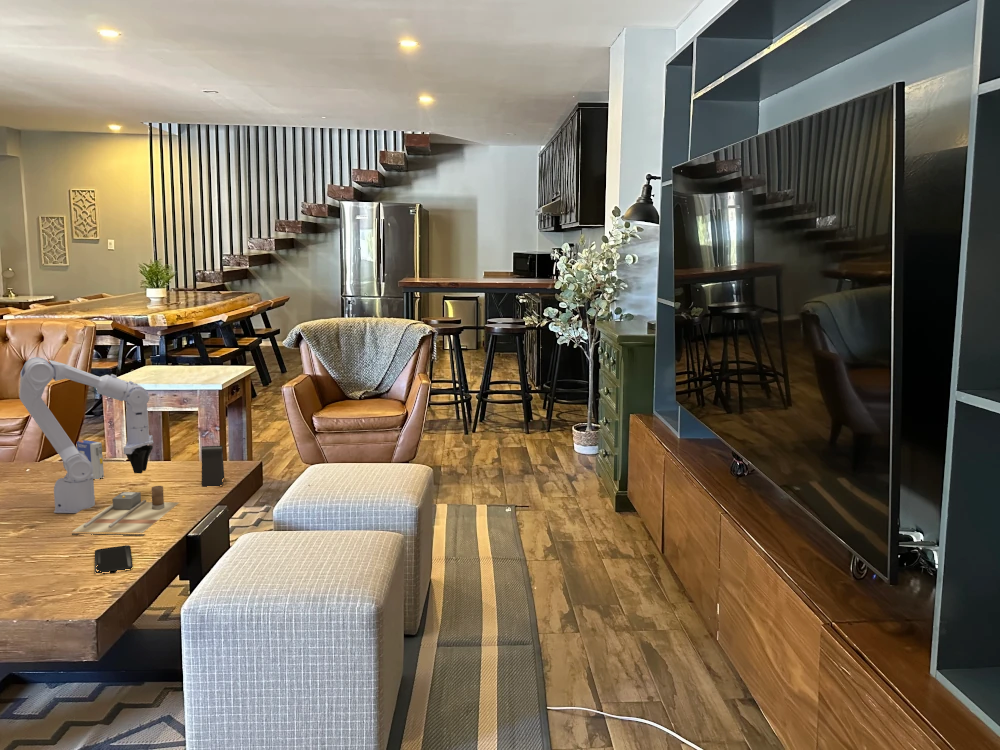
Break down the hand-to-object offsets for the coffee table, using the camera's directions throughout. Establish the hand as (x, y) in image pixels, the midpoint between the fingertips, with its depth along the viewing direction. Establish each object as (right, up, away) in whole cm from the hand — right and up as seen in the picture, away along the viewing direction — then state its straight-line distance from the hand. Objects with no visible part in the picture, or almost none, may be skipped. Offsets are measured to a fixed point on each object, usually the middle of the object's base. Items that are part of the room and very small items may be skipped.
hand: (140, 471), depth 224 cm
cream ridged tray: (+4, -11, -15) cm, 19 cm away
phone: (+14, -16, -43) cm, 48 cm away
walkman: (-26, -5, +22) cm, 34 cm away
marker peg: (+9, -9, -8) cm, 15 cm away
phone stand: (+14, -6, +19) cm, 24 cm away
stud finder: (0, -9, -8) cm, 12 cm away
